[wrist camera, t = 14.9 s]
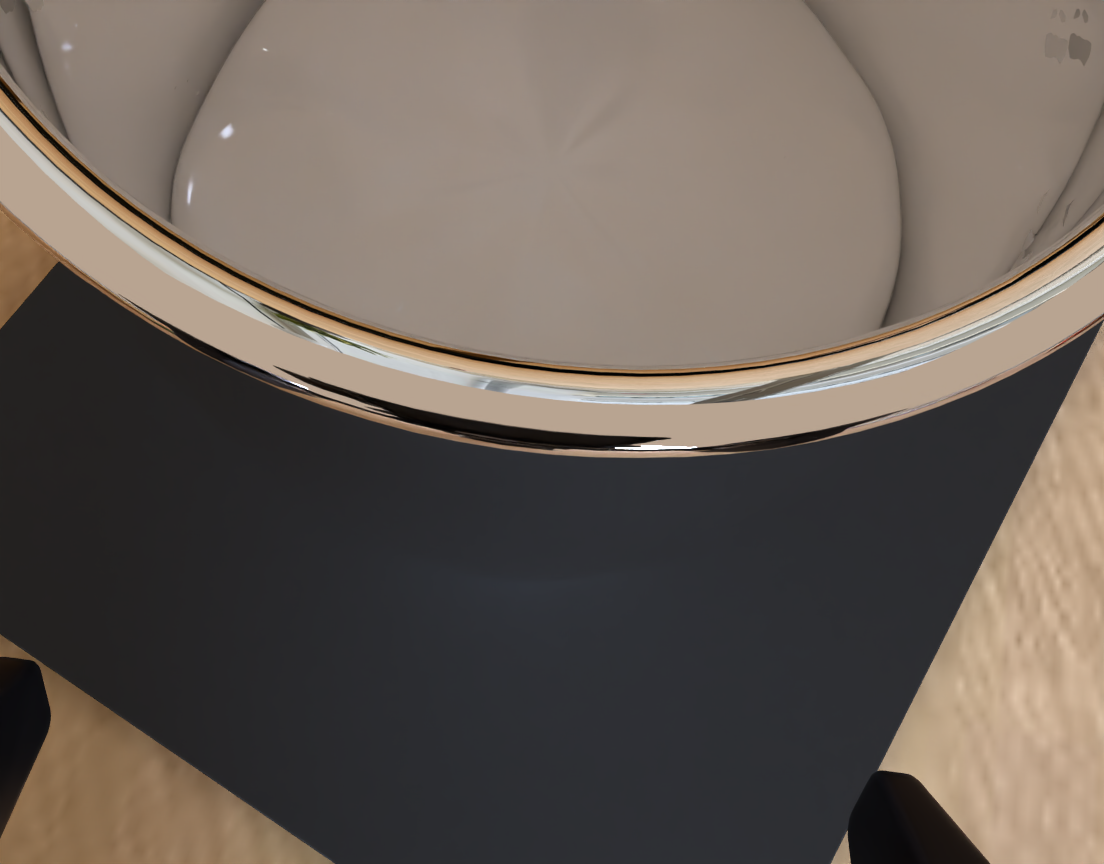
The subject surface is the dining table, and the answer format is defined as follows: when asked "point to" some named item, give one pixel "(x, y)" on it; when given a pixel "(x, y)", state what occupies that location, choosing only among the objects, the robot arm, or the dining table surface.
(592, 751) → the placemat
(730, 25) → the beer glass
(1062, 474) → the dining table surface
